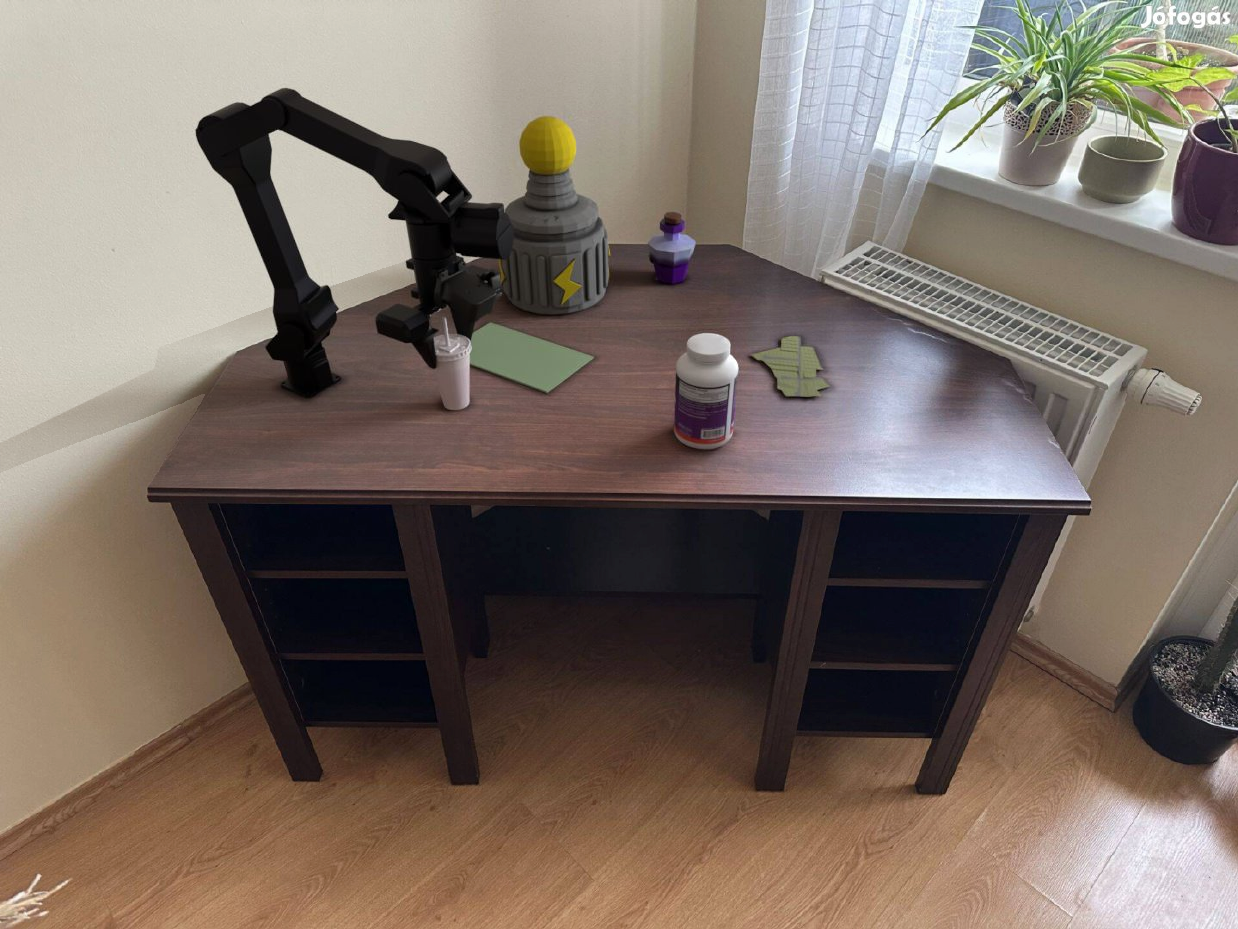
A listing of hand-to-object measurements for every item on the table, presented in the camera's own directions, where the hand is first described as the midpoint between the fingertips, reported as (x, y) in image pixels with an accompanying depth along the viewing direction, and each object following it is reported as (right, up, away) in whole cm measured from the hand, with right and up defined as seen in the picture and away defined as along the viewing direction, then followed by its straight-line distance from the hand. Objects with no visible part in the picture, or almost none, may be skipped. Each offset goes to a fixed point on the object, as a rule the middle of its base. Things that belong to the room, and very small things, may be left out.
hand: (449, 357), depth 121 cm
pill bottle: (+35, -11, -2) cm, 37 cm away
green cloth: (+8, +2, +15) cm, 17 cm away
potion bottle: (+33, +19, +37) cm, 53 cm away
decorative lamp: (+13, +15, +33) cm, 38 cm away
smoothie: (0, -6, +5) cm, 8 cm away
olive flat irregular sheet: (+50, 0, +12) cm, 51 cm away
